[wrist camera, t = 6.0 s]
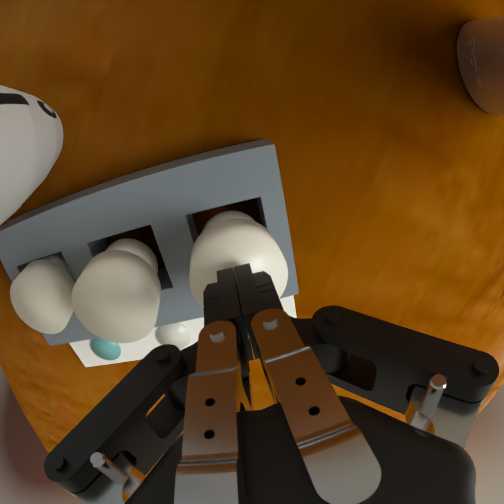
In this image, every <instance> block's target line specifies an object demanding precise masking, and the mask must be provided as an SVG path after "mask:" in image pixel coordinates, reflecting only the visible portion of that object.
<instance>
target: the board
mask: <svg viewBox="0 0 504 504" xmlns="http://www.w3.org/2000/svg"><path fill="white" fill-rule="evenodd" d="M253 198H256V200H257V205H258V210H259V215H260V220H261V225H262V226H264V227H265V228H266V229H267V230H268V231H269V232H270V233H271V234H272V235H273V237H274V239H275V240H276V242H277V244H278V246H279V248H280V250H281V252H282V254H283V256H284V258H285V261H286V263H287V267H288V280H287V285H286V288H285V290H284V292H283V294H282V296H281V297H280V298H279V299H281V298H284V297H288V296H292V295H296V294H299V291H298V284H297V277H296V270H295V263H294V257H293V250H292V244H291V237H290V231H289V225H288V218H287V212H286V206H285V200H284V194H283V189H282V183H281V177H280V171H279V166H278V160H277V155H276V150H275V144H273V143H271V142H270V141H268V140H266V139H262V140H257V141H252V142H247V143H242V144H238V145H233V146H229V147H225V148H220V149H216V150H212V151H208V152H204V153H200V154H196V155H192V156H189V157H185V158H181V159H177V160H174V161H170V162H167V163H163V164H160V165H156V166H153V167H150V168H146V169H143V170H140V171H137V172H134V173H130V174H127V175H124V176H121V177H118V178H115V179H112V180H109V181H106V182H103V183H101V184H98V185H95V186H92V187H89V188H87V189H84V190H81V191H79V192H76V193H73V194H71V195H68V196H66V197H63V198H61V199H58V200H56V201H53V202H51V203H48V204H46V205H43V206H41V207H39V208H36V209H34V210H32V211H29V212H27V213H25V214H23V215H20V216H18V217H16V218H14V219H12V220H10V221H8V222H7V223H6V224H4V225H3V226H2V227H0V260H1V262H2V264H3V266H4V268H5V270H6V272H7V274H8V276H9V278H10V280H11V282H12V283H13V281H14V280H15V279H16V277H17V276H18V275H19V274H20V273H21V272H22V271H23V269H24V268H25V267H26V266H27V265H28V264H29V263H30V262H32V261H34V260H38V259H39V258H42V257H45V256H48V255H51V254H54V253H57V252H62V255H63V257H64V259H65V261H66V263H67V266H68V268H69V270H70V272H71V274H72V276H73V278H74V280H75V282H76V281H77V280H78V278H79V277H80V275H81V273H82V272H83V270H84V269H85V267H86V265H87V264H88V262H89V261H90V260H91V259H92V258H93V257H94V256H96V255H97V254H99V253H101V252H104V251H106V249H107V248H108V247H109V245H108V243H107V240H106V238H105V237H109V236H112V235H116V234H119V233H122V232H126V231H129V230H133V229H136V228H140V227H143V226H147V225H151V227H152V230H153V233H154V236H155V239H156V241H157V244H158V247H159V250H160V253H161V255H162V258H163V261H164V263H165V266H166V268H162V269H158V272H157V276H158V278H159V281H160V285H161V298H160V303H159V309H158V314H157V320H156V324H155V326H154V327H159V326H164V325H169V324H173V323H178V322H183V321H188V320H192V319H197V318H201V317H204V308H203V307H202V306H200V304H199V303H198V302H197V301H196V299H195V298H194V296H193V294H192V292H191V288H190V283H189V274H190V261H191V252H192V248H193V245H194V243H195V241H196V239H197V238H198V233H197V230H196V227H195V223H194V220H193V216H192V213H196V212H199V211H203V210H207V209H211V208H215V207H219V206H223V205H228V204H232V203H236V202H240V201H244V200H249V199H253ZM42 335H43V336H44V338H45V339H46V341H47V342H48V344H49V345H50V346H51V345H58V344H65V343H71V342H77V341H83V340H89V339H95V338H100V337H98V336H96V335H94V334H93V333H91V332H90V331H89V330H88V329H86V328H85V327H84V326H83V325H82V323H81V322H80V321H79V319H78V318H77V316H76V314H75V312H74V311H73V313H72V315H71V317H70V319H69V321H68V323H67V325H66V327H65V328H64V329H63V330H62V331H61V332H59V333H56V334H45V333H42Z"/></svg>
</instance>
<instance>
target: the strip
mask: <svg viewBox="0 0 504 504" xmlns="http://www.w3.org/2000/svg"><path fill="white" fill-rule="evenodd" d="M280 301H281V304H282V307H283V309H284V311H285V312H286V313H287V314H288V315H289V316H291V317H294V318H297V317H296V310H295V303H294V297H293V295H292V296H288V297H284V298H281V299H280ZM203 327H204V317H201V318H197V319H192V320H188V321H183V322H178V323H173V324H169V325H164V326H159V327H154V328H153V329H152V331H151V332H150V333H149V334H148V335H147V336H146V337H144V338H142V339H140V340H138V341H135V342H131V343H115V342H110V341H107V340H104V339H102V338H95V339H89V340H83V341H77V342H71V343H69V344H70V345H71V347H72V348H73V350H74V351H75V353H76V354H77V356H78V357H79V358H80V360H81V361H82V363H83V364H84V365H85V367H91V366H99V365H106V364H113V363H120V362H127V361H134V360H140V359H143V358H144V357H145V356H146V355H147V354H148V353H149V352H150V351H151V350H153V349H154V348H156V347H158V346H160V345H164V344H172V345H175V346H177V347H178V348H179V349H180V350H182V349H184V348H187V347H189V346H191V345H193V344H194V343H196V342H197V341H198V337H199V333H200V331H201V330H202V329H203Z"/></svg>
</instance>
